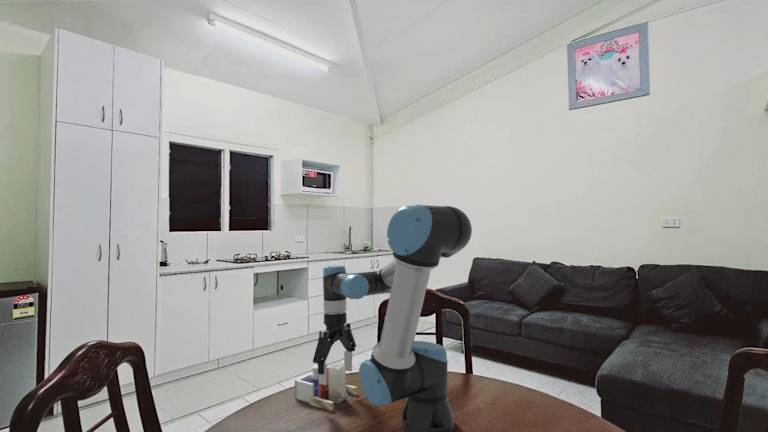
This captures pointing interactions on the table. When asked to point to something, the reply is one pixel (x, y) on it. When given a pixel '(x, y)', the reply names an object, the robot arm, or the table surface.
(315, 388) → the pill bottle
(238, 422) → the table surface
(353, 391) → the lane rails
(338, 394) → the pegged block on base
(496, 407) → the table surface
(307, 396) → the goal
